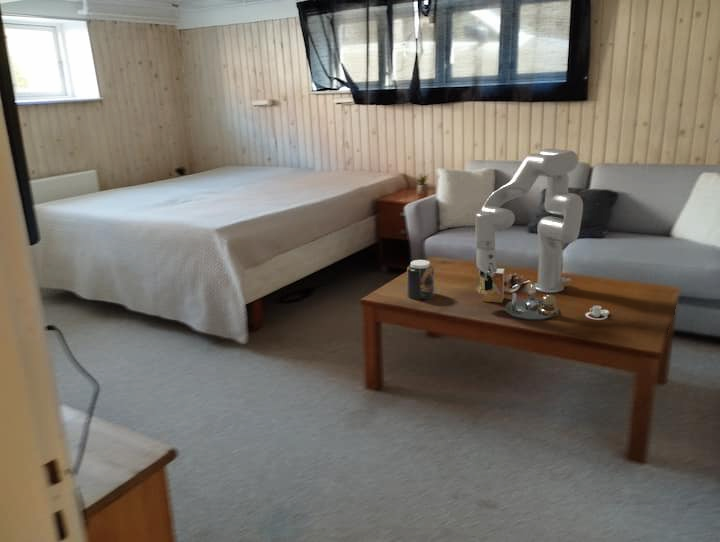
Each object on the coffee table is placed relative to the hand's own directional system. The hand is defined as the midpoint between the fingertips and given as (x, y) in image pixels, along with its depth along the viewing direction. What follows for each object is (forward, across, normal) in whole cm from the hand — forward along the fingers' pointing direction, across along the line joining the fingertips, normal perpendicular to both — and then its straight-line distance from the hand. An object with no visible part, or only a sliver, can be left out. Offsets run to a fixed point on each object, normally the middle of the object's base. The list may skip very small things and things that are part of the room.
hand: (485, 286), depth 239 cm
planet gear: (+2, 0, 0) cm, 2 cm away
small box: (+10, +9, -7) cm, 15 cm away
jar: (+10, +24, +20) cm, 32 cm away
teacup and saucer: (+11, -23, -38) cm, 46 cm away
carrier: (+10, -7, -16) cm, 20 cm away
